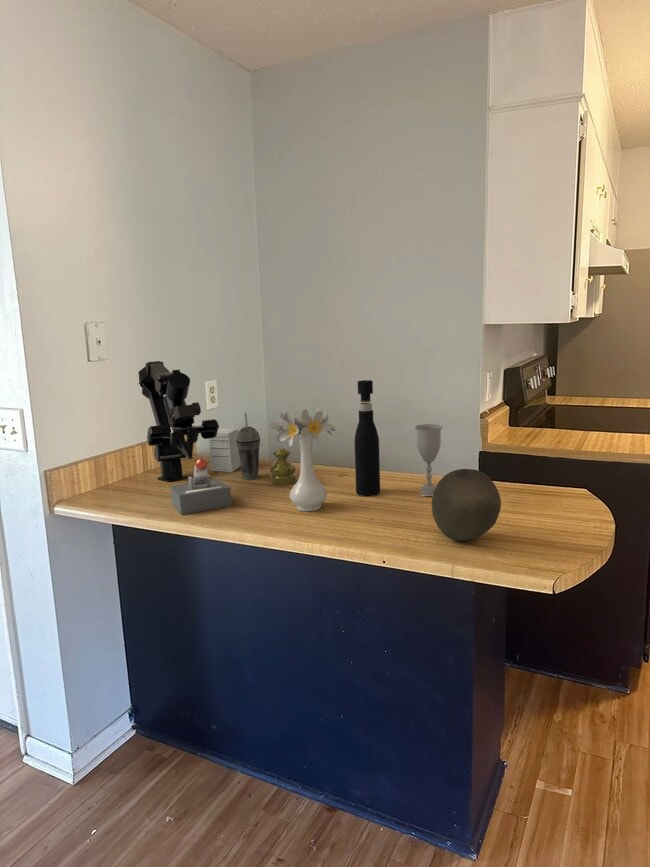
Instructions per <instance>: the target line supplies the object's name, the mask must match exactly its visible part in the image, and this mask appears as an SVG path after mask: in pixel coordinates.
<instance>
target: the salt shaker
mask: <svg viewBox="0 0 650 867" xmlns="http://www.w3.org/2000/svg"><path fill="white" fill-rule="evenodd" d="M291 453H292V452H291V451H290V450H289V449H286V448H284V447H281V448H278V449H277V450H275V451H274V452H273V456H275V457H276V458H277V461H276V462H275V463H274V464H273V465H272V466H271V467H270V468H269V470H270V474H271V475H270V482H271V484H272V485H274V486H289V485H293V484H296V483H297V474H296V465H294V464H292V463H291V462H290V460H288V457H289V456H290V455H291Z"/></svg>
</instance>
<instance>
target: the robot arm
mask: <svg viewBox="0 0 650 867" xmlns="http://www.w3.org/2000/svg"><path fill="white" fill-rule="evenodd" d="M138 374H139V384H140V386H141V387H142V392H141V394H142V395H143V397H145V398H147V399H148V400H149V404H150V406H151V411H152V414H153V417H154V420H155V424H156V425H152V426H151V425H150V426H149V427H148V429H147V436H146V438H147V444H148V446H150V447H154V449H153V450H154V451H153V456H154V460H155V461H157V462H158V463H160V464H159V465H160V471H161V472H160V473H161V476H157V478H156V479H157V480H159V481H160V480H161V481H163V482H169V483H170V482H173V481H175V482H176V481H177V480H182V479H185V478H187V477H188V476H187V475H185V474H183V465H182V459H189V460H191V459H193V453H194V451H193V450H194V444H195V443H197V442H198V438H199V434H200V436H201V438H203V440H204V439H205V440H207V439H208V440H209V439H210V438H215V437H216V435H217V432H218V428H220V425H219V422H218V420H216V419H215V418H214V419H213V418H211V419H205V420H202V421H201V424H200V425H194V426H193V424H195V417H196V416H200V415H201V413H202V409H201V406H200V402H192V403H191V404H187V402H186V399H187V398H188V393H189V389H190V383H191V378H190V377H189V376H188V375H187V374H185V372H184V373H183V372H181V370H180V369H172V371H169V369H168V368H167V367H166V366H165V365H164V362H163V361H160V360H158V361H157V360H156V361H148V362H145V365H144V367H142V369H140V370H139V371H138V373H137V375H138ZM185 436H186V438H185Z"/></svg>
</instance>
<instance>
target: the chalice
mask: <svg viewBox="0 0 650 867" xmlns="http://www.w3.org/2000/svg"><path fill="white" fill-rule="evenodd" d="M414 428H415V431H416V447H417V450H418V452H419V454H420V456H421V458H422V460H423V461H424V462H426V469H425V470H426V472H427V473H426V475H425V477H426V481H427V482H426V483H425V484H424V485H422V487H421V490H420V492H419V495H420V494H421V495H425V496H432V495H433V493H434V490H435V488H436V486H437V485H435V484H433V483H432V478H433V475H432V470H433V469H432V462H434V461H435V460H436V458H437V456H438V454H439V451H440V448H441V445H442V444H441V441H442V440H441V438H442V437H441V435H442V434H441V431H442V428H443V425H442V424H436V423H431V424H430V423H426V424H424V423H423V424H419V425H418V424H417V425H415V426H414ZM421 495H420V496H421Z"/></svg>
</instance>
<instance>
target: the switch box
mask: <svg viewBox="0 0 650 867" xmlns="http://www.w3.org/2000/svg"><path fill="white" fill-rule="evenodd" d="M187 477H188V483H183V484H182V483H181V484H176V485H170V489H169V490H170V499H171V506H174V507H175V508H176V509H175V508H174V507H173V508H174V509H175V510H176V511H177V512H178V514H179V515H181V516H184V515H189V513H190V514H194V512H195V513H200V512H199V511H201V512H206V511H205V510H207V511H211V510H212V511H213V510H217V508H218V509H222V508H223V507H224V508H228V506H229V507H232V495H231V494H232V493H231V492H232V491H231V486H229V485H228V484H226V483H225V482H224V481H222V480H221V479H220V478H216V479H211V476H210V474H208V473H207V481H206V484H203V485H196V486H195V485H194V483H193V477H192V476H187ZM183 514H184V515H183Z"/></svg>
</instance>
